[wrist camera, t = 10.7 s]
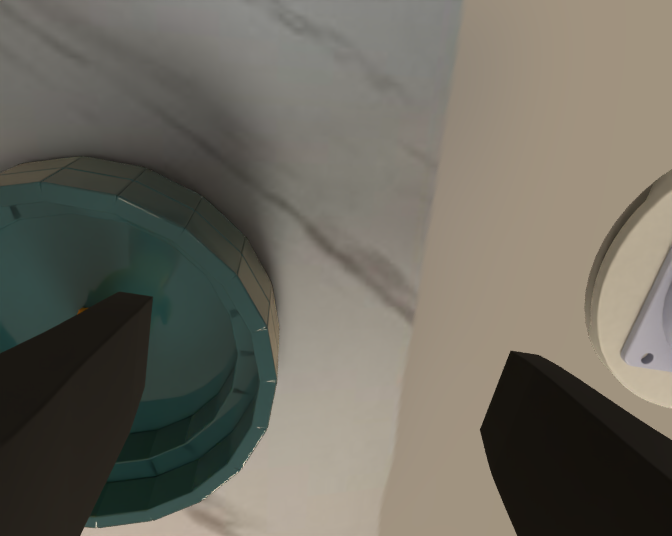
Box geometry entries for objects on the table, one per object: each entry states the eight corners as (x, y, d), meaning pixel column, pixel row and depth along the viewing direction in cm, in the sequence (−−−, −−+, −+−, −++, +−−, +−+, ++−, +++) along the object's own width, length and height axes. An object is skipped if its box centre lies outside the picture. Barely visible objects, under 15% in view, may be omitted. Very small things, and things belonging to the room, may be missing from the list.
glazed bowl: (305, 192, 20) (308, 229, 16) (252, 467, 25) (244, 542, 21) (-86, 120, 18) (-182, 142, 14) (-60, 433, 23) (-126, 509, 19)
